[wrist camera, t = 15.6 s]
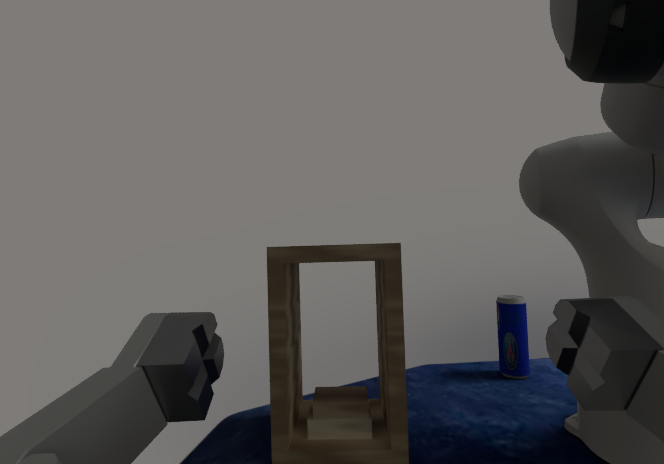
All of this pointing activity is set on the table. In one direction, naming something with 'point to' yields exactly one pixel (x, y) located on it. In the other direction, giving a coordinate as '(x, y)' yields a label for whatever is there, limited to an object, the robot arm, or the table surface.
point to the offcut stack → (340, 414)
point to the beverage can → (513, 336)
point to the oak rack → (286, 364)
